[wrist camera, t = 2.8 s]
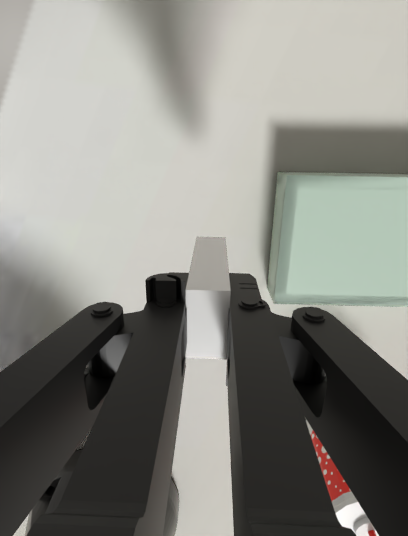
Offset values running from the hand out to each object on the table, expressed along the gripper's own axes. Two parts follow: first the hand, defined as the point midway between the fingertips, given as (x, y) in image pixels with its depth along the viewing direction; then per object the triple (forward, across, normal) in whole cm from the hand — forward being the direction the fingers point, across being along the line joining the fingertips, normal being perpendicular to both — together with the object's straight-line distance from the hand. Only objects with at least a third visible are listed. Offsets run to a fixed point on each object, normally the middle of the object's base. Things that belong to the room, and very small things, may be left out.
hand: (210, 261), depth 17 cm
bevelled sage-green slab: (+8, -12, 0) cm, 14 cm away
